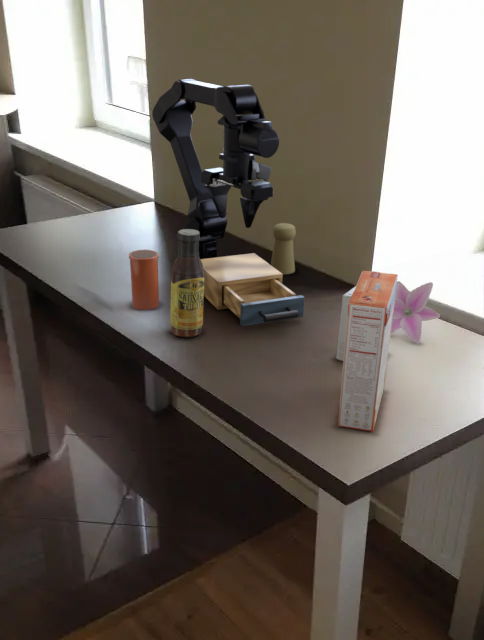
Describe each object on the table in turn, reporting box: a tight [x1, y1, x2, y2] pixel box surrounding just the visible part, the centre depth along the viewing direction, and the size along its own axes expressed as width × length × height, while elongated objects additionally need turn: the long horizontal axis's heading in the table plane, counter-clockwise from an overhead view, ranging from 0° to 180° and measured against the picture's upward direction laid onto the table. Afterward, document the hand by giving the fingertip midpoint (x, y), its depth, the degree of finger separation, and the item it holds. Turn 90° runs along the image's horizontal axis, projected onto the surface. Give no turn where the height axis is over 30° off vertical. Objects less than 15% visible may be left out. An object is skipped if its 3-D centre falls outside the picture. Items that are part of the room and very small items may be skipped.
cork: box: [270, 222, 297, 275], centre depth 173 cm, size 6×6×11 cm
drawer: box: [222, 279, 305, 327], centre depth 150 cm, size 17×13×4 cm
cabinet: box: [200, 252, 284, 311], centre depth 161 cm, size 15×15×6 cm
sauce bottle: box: [169, 228, 205, 338], centre depth 139 cm, size 7×6×20 cm
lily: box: [391, 280, 441, 345], centre depth 145 cm, size 12×12×10 cm
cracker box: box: [337, 270, 399, 432], centre depth 114 cm, size 14×6×21 cm, turn 163°
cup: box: [128, 249, 160, 311], centre depth 153 cm, size 6×6×11 cm
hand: (235, 222), depth 164 cm, fingers open, 9 cm apart
